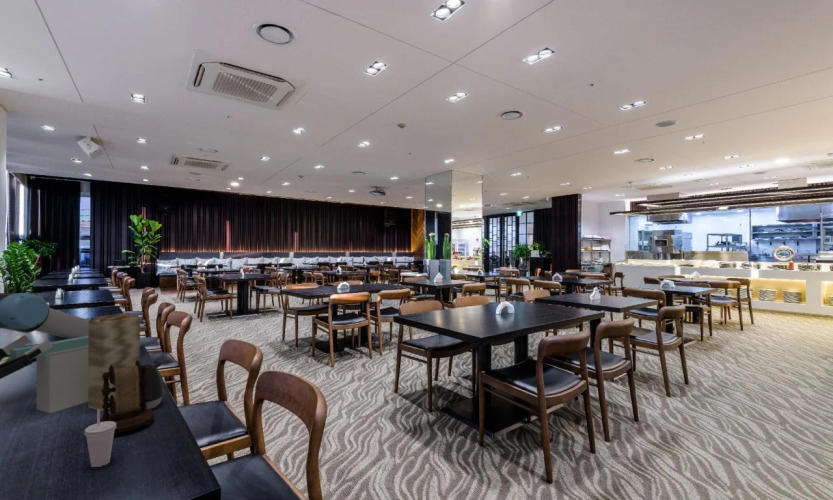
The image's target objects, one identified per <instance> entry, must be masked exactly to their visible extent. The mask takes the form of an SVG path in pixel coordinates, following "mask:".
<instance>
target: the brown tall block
mask: <svg viewBox="0 0 833 500" xmlns="http://www.w3.org/2000/svg"><path fill="white" fill-rule="evenodd" d="M89 319H90V321H89V363H88V402H87V407H88V408H89V409H93V410H96V411H97V410H98V409H100V412H103V410H104V409H102V405H103V404H104V403H103V399H104V396H103V394H102V389H103V388H104V387H103V384H104V381H103V379H104V378H102V374H103V373H105V372H109V367H110V365H113V367H114V370H115V369H121V368H126V367H131V366H135V363H136V361H137V360H139V361H140V362H141V360H140V359H141V317H140V316H139V314H138V313H135V314H130V312H124V313H117V314H116V313H115V314H109V315H101V316H96V317H90V318H89ZM108 382H109V388H113V387H115V386H114V385H113V384H111V383H110V380H108ZM111 395H113V396H114V400H115V401H116V391H115V392H112V391H111V393H109V395H108V397H109V399H110V396H111ZM108 403H109V402H108ZM108 409H109V410H110V407H109V408H108Z"/></svg>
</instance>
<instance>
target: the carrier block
mask: <svg viewBox="0 0 833 500" xmlns="http://www.w3.org/2000/svg"><path fill="white" fill-rule="evenodd" d="M88 363H89V346H85V347H80V348H75V349H70V350H65V351H60V352H55V353H50V354H48V355H47V356H42V357H37V358H36V386H35V387H36V394H35V395H36V396H35V397H36V399H35V401H36V403H35V404H36V406H35V408H36V410H37V411H40V412H43V413H48V414H52V413H55V412H59V411H62V410H64V409H68V408H71V407H74V406H78V405H81V404H84V403H88Z"/></svg>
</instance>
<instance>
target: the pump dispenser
mask: <svg viewBox="0 0 833 500" xmlns="http://www.w3.org/2000/svg"><path fill="white" fill-rule="evenodd" d="M143 365H146V366H147V370H146V371H147V372H146V376H147V377H146V380H147V381H148V384H147V385H146V387H145V388H146V393H145V394H147V398H146V399H145V400H146V402H145V403H146V405H147V407H146V409H149V410H152V409H154V408H156V407H157V406H158V405H159V404H160V403H161V402H162V399H163V396H164V395H165V390H164V385H163V380H162V378H161V375H160V372H159V370H158V368H159V367H160V366H161V365H162V363H161V362H160V361H159V362H157V363H155V365H154V364H151V363H145V364H143ZM141 372H142V371H141ZM141 375H142V373H141ZM141 380H142V379H141V376H140V378H139V382H140V381H141ZM141 389H142V388H141V386H139V390H140V391H141ZM141 395H142V394H141ZM139 408H140V407H139Z"/></svg>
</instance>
